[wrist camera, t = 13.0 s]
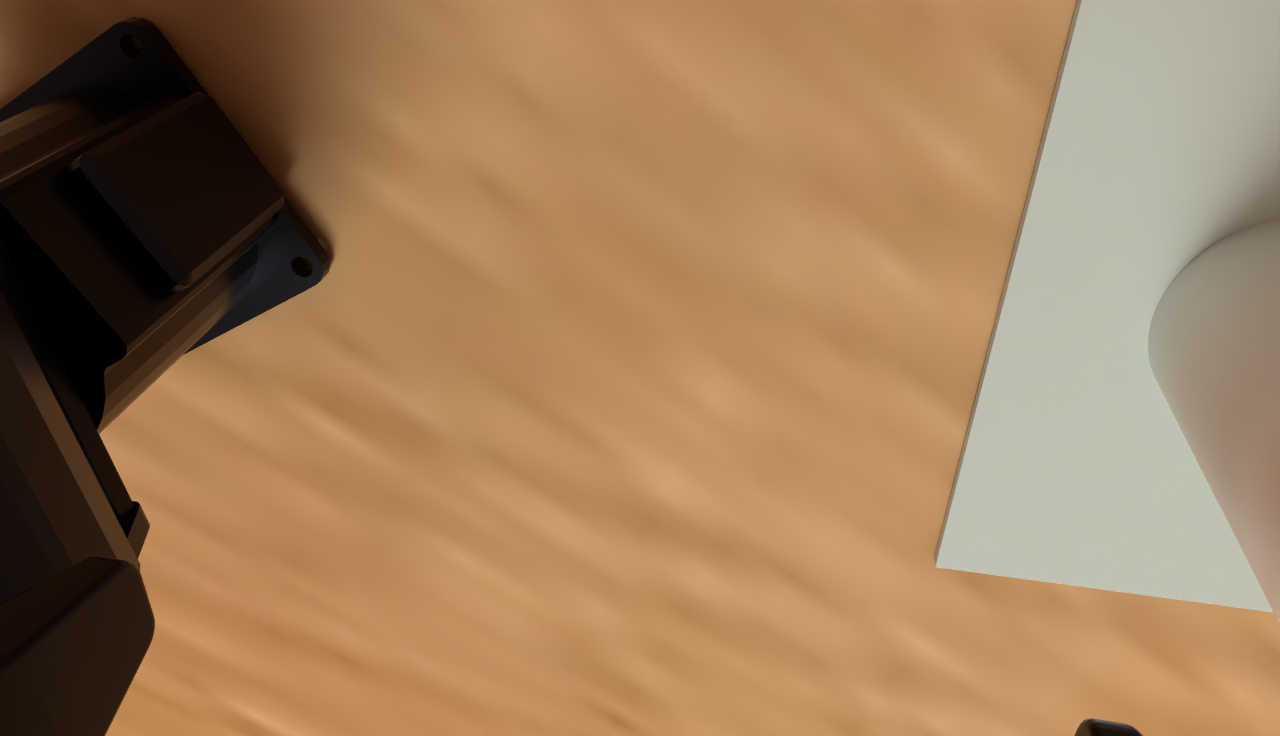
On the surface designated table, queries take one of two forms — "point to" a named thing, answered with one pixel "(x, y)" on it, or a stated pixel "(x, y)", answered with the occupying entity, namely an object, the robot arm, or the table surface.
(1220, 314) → the grey capped tube
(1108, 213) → the sage mat
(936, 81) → the table surface
